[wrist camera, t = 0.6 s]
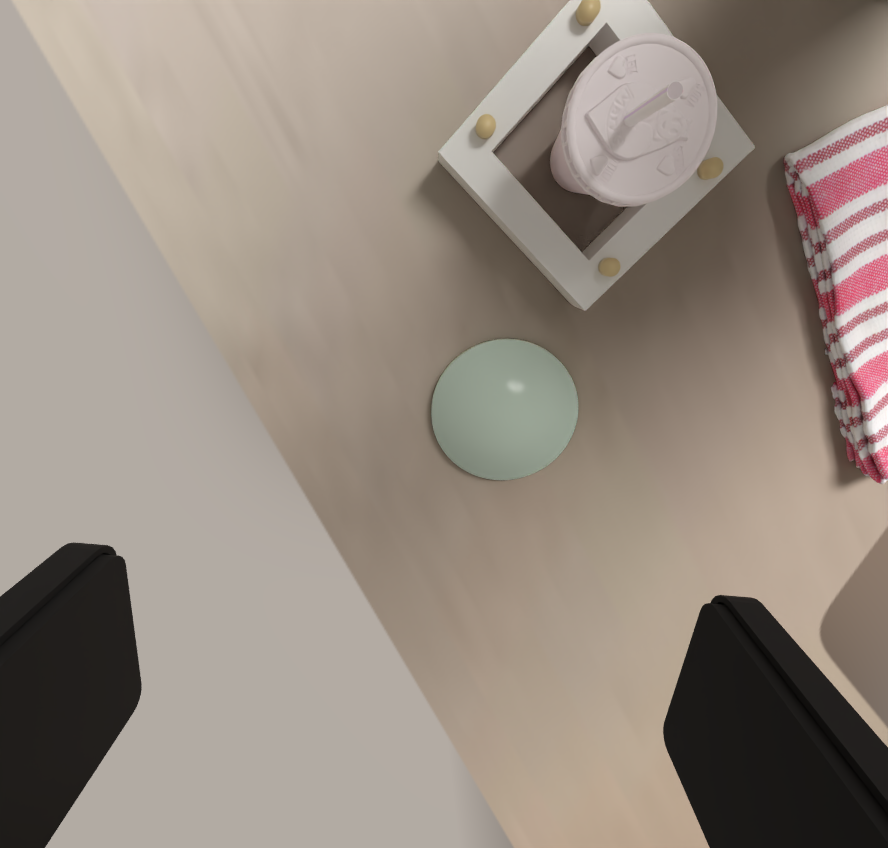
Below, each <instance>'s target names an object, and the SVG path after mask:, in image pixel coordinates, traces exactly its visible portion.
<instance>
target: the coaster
mask: <svg viewBox="0 0 888 848" xmlns="http://www.w3.org/2000/svg"><path fill="white" fill-rule="evenodd" d="M431 418H432V426H433V430H434V433H435V436H436V439H437V441H438V443H439V445H440V447H441V448H442V450H443V451H444V452H445V454H446V455H447V456H448V457H449V458H450V459H451V460H452V461H453V462H454V463H455V464H456V465H457V466H459V467H460V468H462V469H463V470H465V471H467V472H468V473H471V474H473V475H475V476H478V477H482V478H485V479H491V480H513V479H518V478H522V477H525V476H528V475H531V474H533V473H536V472H538V471H540V470H541V469H543V468H544V467H546V466H548V465H549V464H550V463H551V462H553V461H554V460H555V459H556V458H557V457H558V456H559V455H560V454H561V453H562V451H563V450H564V449H565V447H566V446H567V444H568V443H569V441H570V439H571V437H572V435H573V432H574V430H575V427H576V423H577V418H578V397H577V392H576V388H575V385H574V382H573V380H572V378H571V376H570V374H569V373H568V371H567V369H566V368H565V367H564V366H563V364H562V363H561V362H560V361H559V360H558V359H557V358H556V357H555V356H554V355H552V354H551V353H550V352H548V351H547V350H545V349H544V348H542V347H540V346H538V345H536V344H534V343H531V342H528V341H525V340H519V339H509V338H503V339H494V340H489V341H485V342H482V343H479V344H477V345H475V346H473V347H471V348H469V349H467V350H465V351H464V352H463V353H461V354H460V355H458V356H457V357H456V358H455V359H454V360H453V361H452V362H451V363H450V364H449V365H448V366H447V368H446V369H445V370H444V372H443V373H442V375H441V376H440V378H439V380H438V383H437V385H436V387H435V391H434V394H433V399H432V408H431Z"/></svg>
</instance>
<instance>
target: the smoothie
mask: <svg viewBox="0 0 888 848" xmlns="http://www.w3.org/2000/svg"><path fill="white" fill-rule="evenodd" d="M716 121H717V95H716V89H715V85H714V81H713V79H712V76H711V73H710V71H709V69H708V67H707V66H706V64H705V62H704V61H703V59H702V58H701V57H700V55H699V54H698V53H697V52H696V51H695V50H694V49H693V48H691V47H690V46H689V45H688V44H686V43H685V42H683V41H681V40H679V39H677V38H675V37H672V36H669V35H665V34H659V33H643V34H637V35H633V36H630V37H627V38H624V39H622V40H620V41H618V42H616V43H614V44H613V45H611V46H609V47H608V48H607V49H605V50H604V51H603V52H602V53H601V54H599V55H598V56H597V57H595V58H594V59H593V60H592V62H591V63H590V64H589V65H588V66H587V67H586V68H585V69H584V70H583V71H582V72H581V74H580V75H579V77H578V78H577V80H576V82H575V84H574V86H573V87H572V89H571V91H570V93H569V95H568V98H567V101H566V105H565V108H564V112H563V115H562V127H561V130H560V132H559V134H558V136H557V139H556V141H555V143H554V145H553V148H552V151H551V156H550V167H551V171H552V174H553V177H554V179H555V180H556V182H557V183H558V184H559V185H560V186H561V187H562V188H564V189H565V190H567V191H570V192H574V193H580V194H587V195H591V196H593V197H594V198H596V199H597V200H599V201H600V202H604V203H607V204H611V205H614V206H618V207H624V206H639V205H643V204H646V203H650V202H653V201H656V200H657V199H660V198H662V197H664V196H666V195H668V194H670V193H671V192H673V191H674V190H676V189H677V188H679V187H680V186H681V185H682V184H684V183H685V182H686V181H687V180H688V179H689V178H690V177H691V176H692V174H693V173H694V172H695V171H696V170H697V168H698V167H699V165H700V164H701V162H702V161H703V159H704V157H705V156H706V153H707V151H708V149H709V147H710V144H711V142H712V139H713V136H714V132H715V127H716Z"/></svg>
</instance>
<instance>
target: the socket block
mask: <svg viewBox="0 0 888 848" xmlns="http://www.w3.org/2000/svg"><path fill="white" fill-rule="evenodd" d="M643 33H659V34H665V35H669V36H672V37H674V36H673V34H672V33H671V32H670V30H669V29H668V27H667V26H666V25H665V23H664V22H663V21H662V19H661V18H660V17H659V15H658V14H657V13H656V11H655V10H654V8H653V7H652V6H651V4H650V3H649V2H648V0H569V1H568V3H567V4H566V5H565V6H564V7H563V8H562V10H561V11H560V12H559V13H558V14H557V15H556V16H555V18H554V19H553V20H552V21H551V22H550V23H549V25H548V26H547V27H546V28H545V29H544V30H543V31H542V33H541V34H540V35H539V36H538V37H537V38H536V40H535V41H534V42H533V43H532V44H531V45H530V46H529V48H528V49H527V50H526V51H525V52H524V53H523V55H522V56H521V57H520V58H519V59H518V60H517V61H516V63H515V64H514V65H513V66H512V67H511V68H510V70H509V71H508V72H507V73H506V74H505V75H504V76H503V78H502V79H501V80H500V81H499V82H498V83H497V85H496V86H495V87H494V88H493V89H492V90H491V91H490V93H489V94H488V95H487V96H486V97H485V98H484V100H483V101H482V102H481V103H480V104H479V105H478V106H477V108H476V109H475V110H474V111H473V112H472V113H471V115H470V116H469V117H468V118H467V119H466V120H465V121H464V123H463V124H462V125H461V126H460V127H459V128H458V130H457V131H456V132H455V133H454V134H453V135H452V136H451V138H450V139H449V140H448V141H447V142H446V143H445V145H444V146H443V147H442V148H441V149H440V150H439V151H438V162H439V163H440V164H441V165H442V166H443V167H444V168H445V169H446V170H447V171H448V172H449V173H450V174H451V176H452V177H453V178H454V179H455V180H456V181H457V182H458V183H459V184H460V185H461V186H462V187H463V188H464V190H465V191H466V192H467V193H468V194H469V195H470V196H471V197H472V198H473V199H474V200H475V201H476V202H477V204H478V205H479V206H480V207H481V208H482V209H483V210H484V211H485V212H486V213H487V214H488V215H489V216H490V218H491V219H492V220H493V221H494V222H495V223H496V224H497V225H498V226H499V227H500V228H501V229H502V230H503V232H504V233H505V234H506V235H507V236H508V237H509V238H510V239H511V240H512V241H513V242H514V243H515V244H516V246H517V247H518V248H519V249H520V250H521V251H522V252H523V253H524V254H525V255H526V256H527V257H528V258H529V260H530V261H531V262H532V263H533V264H534V265H535V266H536V267H537V268H538V269H539V270H540V271H541V272H542V274H543V275H544V276H545V277H546V278H547V279H548V280H549V281H550V282H551V283H552V284H553V285H554V286H555V288H556V289H557V290H558V291H559V292H560V293H561V294H562V295H563V296H564V297H565V298H566V299H567V300H568V302H569V303H570V304H571V305H573V306H575V307H577V308H579V309H582V310H584V311H586V310H587V309H588V308H589V307H590V306H591V305H592V304H593V303H594V302H595V301H596V300H597V299H598V298H599V297H600V296H602V295H603V294H604V293H605V292H606V291H607V290H608V289H609V288H610V287H611V286H612V285H613V284H614V283H615V282H616V281H617V280H618V279H619V278H620V277H621V276H622V275H623V274H624V273H625V272H626V271H627V270H629V269H630V268H631V267H632V266H633V265H634V264H635V263H636V262H637V261H638V260H639V259H640V258H641V257H642V256H643V255H644V254H645V253H646V252H647V251H648V250H649V249H650V248H651V247H652V246H653V245H654V244H656V243H657V242H658V241H659V240H660V239H661V238H662V237H663V236H664V235H665V234H666V233H667V232H668V231H669V230H670V229H671V228H672V227H673V226H674V225H675V224H676V223H677V222H678V221H679V220H680V219H681V218H683V217H684V216H685V215H686V214H687V213H688V212H689V211H690V210H691V209H692V208H693V207H694V206H695V205H696V204H697V203H698V202H699V201H700V200H701V199H702V198H703V197H704V196H705V195H706V194H707V193H708V192H710V191H711V190H712V189H713V188H714V187H715V186H716V185H717V184H718V183H719V182H720V181H721V180H722V179H723V178H724V177H725V176H726V175H727V174H728V173H729V172H730V171H731V170H732V169H733V168H734V167H735V166H736V165H738V164H739V163H740V162H741V161H742V160H743V159H744V158H745V157H746V156H747V155H748V154H749V153H750V152H751V151H752V150H753V149H754V148H755V146H754V144H753V143H752V142H751V140H750V139H749V138H748V136H747V135H746V134H745V132H744V131H743V129H742V128H741V127H740V125H739V124H738V123H737V121H736V120H735V119H734V117H733V116H732V115H731V113H730V112H729V110H728V109H727V108H726V106H725V105H724V104H723V102H722V101H721V100H720V98H719V97H718V95H717V94H716V95H717V121H716V127H715V132H714V136H713V139H712V142H711V144H710V147H709V149H708V151H707V153H706V156H705V157H704V159H703V161H702V162H701V164H700V165H699V167H698V168H697V170H696V171H695V172H694V173H693V174H692V176H691V177H690V178H689V179H688V180H687V181H686V182H685V183H684V184H682V185H681V186H680V187H679V188H677V189H676V190H674V191H673V192H671V193H670V194H668V195H666V196H664V197H662V198H660V199H657V200H656V201H653V202H650V203H646V204H643V205H639V206H628V207H627V208H626V209H625V210H624V211H623V212H622V213H621V214H620V215H619V216H618V217H617V218H616V219H615V220H614V221H613V222H612V223H611V224H610V225H609V226H608V227H607V228H606V229H605V230H604V231H603V232H602V233H601V234H600V235H599V236H598V237H597V238H596V239H595V240H594V241H593V242H592V243H591V244H590V245H589V246H588V247H587V248H586V249H585V250H584V251H583V252H581V251H580V250H579V249H578V248H577V247H576V245H575V244H574V243H573V242H572V241H571V240H570V239H569V238H568V236H567V235H566V234H565V233H564V232H563V231H562V230H561V229H560V227H559V226H558V225H557V224H556V223H555V222H554V221H553V220H552V219H551V217H550V216H549V215H548V214H547V213H546V212H545V211H544V210H543V208H542V207H541V206H540V205H539V204H538V203H537V202H536V201H535V199H534V198H533V197H532V196H531V195H530V194H529V193H528V192H527V190H526V189H525V188H524V187H523V186H522V185H521V184H520V183H519V182H518V180H517V179H516V178H515V177H514V176H513V175H512V174H511V173H510V171H509V170H508V169H507V168H506V167H505V166H504V165H503V164H502V162H501V161H500V160H499V159H498V158H497V157H496V156H495V155H494V153H493V152H494V151H495V150H496V149H497V148H498V146H499V145H500V144H501V143H502V142H503V141H504V140H505V139H506V137H507V136H508V135H509V134H510V133H511V132H512V131H513V130H514V129H515V127H516V126H517V125H518V124H519V123H520V122H521V121H522V120H523V119H524V117H525V116H526V115H527V114H528V113H529V112H530V111H531V110H532V109H533V107H534V106H535V105H536V104H537V103H538V102H539V101H540V100H541V98H542V97H543V96H544V95H545V94H546V93H547V92H548V91H549V90H550V88H551V87H552V86H553V85H554V84H555V83H556V82H557V81H558V80H559V78H560V77H561V76H562V75H563V74H564V73H565V72H566V71H567V70H568V68H569V67H570V66H571V65H572V64H573V63H574V62H575V61H576V59H577V58H578V57H579V56H580V55H581V54H582V53H583V52H584V51H585V49H586V48H587V47H588V46H589V47H590V48H591V49H592V51H593V52H594V53H595V55H596V56H598V55H599V54H601V53H602V52H603V51H604V50H605V49H607V48H608V47H609V46H611V45H613V44H614V43H616V42H618V41H620V40H622V39H624V38H627V37H630V36H633V35H637V34H643Z"/></svg>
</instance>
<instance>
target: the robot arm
mask: <svg viewBox="0 0 888 848" xmlns="http://www.w3.org/2000/svg"><path fill="white" fill-rule="evenodd" d="M126 571H127V570H126V564H125V560H124V559H123V557H121V556H117V555H116V552H115V550H114V549H113V548H112V547H110V546H108V545H97V544H84V543H69V544H66V545H64V546H63V547H61V548H60V549H59V550H58V551H56V552H55V553H54V554H53V555H51V556H50V557H49V558H48V559H46V560H45V561H44V562H43V563H41V564H40V565H39V566H38V567H36V568H35V569H34V570H33V571H32V572H30V573H29V574H28V575H27V576H25V577H24V578H23V579H22V580H21V581H19V582H18V583H17V584H15V585H14V586H13V587H12V588H10V589H9V590H8V591H7V592H5V593H4V594H3V595H2V596H1V597H0V848H45V847H46V845H47V844H48V842H49V840H50V839H51V837H52V836H53V834H54V833H55V831H56V830H57V828H58V827H59V825H60V824H61V822H62V821H63V819H64V818H65V816H66V814H67V813H68V811H69V810H70V808H71V807H72V805H73V804H74V802H75V801H76V799H77V798H78V796H79V795H80V793H81V792H82V790H83V789H84V787H85V786H86V784H87V782H88V781H89V779H90V778H91V776H92V775H93V773H94V772H95V770H96V769H97V767H98V766H99V764H100V763H101V761H102V760H103V758H104V756H105V755H106V753H107V752H108V750H109V749H110V747H111V746H112V744H113V743H114V741H115V740H116V738H117V737H118V735H119V734H120V732H121V731H122V729H123V728H124V726H125V725H126V723H127V721H128V720H129V718H130V717H131V715H132V714H133V712H134V710H135V708H136V707H137V704H138V701H139V699H140V695H141V677H140V670H139V662H138V654H137V647H136V639H135V631H134V624H133V616H132V608H131V601H130V594H129V586H128V579H127V572H126ZM663 734H664V741H665V745H666V748H667V751H668V753H669V756H670V758H671V760H672V762H673V765H674V767H675V769H676V772H677V774H678V776H679V778H680V781H681V783H682V785H683V788H684V790H685V792H686V794H687V797H688V799H689V801H690V804H691V806H692V808H693V810H694V813H695V815H696V817H697V820H698V822H699V824H700V826H701V829H702V831H703V833H704V836H705V838H706V840H707V842H708V845H709V847H710V848H888V747H887V746H886V745H885V744H884V743H883V742H882V740H881V739H880V738H879V737H878V736H877V735H876V734H875V732H874V731H873V730H872V729H871V728H870V727H869V726H868V724H867V723H866V722H865V721H864V720H863V719H862V718H861V716H860V715H859V714H858V713H857V712H856V711H855V710H854V708H853V707H852V706H851V705H850V704H849V703H848V702H847V700H846V699H845V698H844V697H843V696H842V695H841V694H840V692H839V691H838V690H837V689H836V688H835V687H834V686H833V684H832V683H831V682H830V681H829V680H828V679H827V678H826V676H825V675H824V674H823V673H822V672H821V671H820V670H819V668H818V667H817V666H816V665H815V664H814V663H813V661H812V660H811V659H810V658H809V657H808V656H807V655H806V653H805V652H804V651H803V650H802V649H801V648H800V647H799V645H798V644H797V643H796V642H795V641H794V640H793V639H792V637H791V636H790V635H789V634H788V633H787V632H786V631H785V629H784V628H783V627H782V626H781V625H780V624H779V623H778V621H777V620H776V619H775V618H774V617H773V616H772V615H771V613H770V612H769V611H768V610H767V609H766V608H765V607H764V605H763V604H762V603H761V602H759V601H758V600H757V599H754V598H749V597H737V596H724V595H719V596H715V597H714V598H713V599H712V601H711V603H708V604H705V605H703V606H702V608H701V610H700V613H699V616H698V619H697V623H696V626H695V629H694V632H693V635H692V638H691V641H690V644H689V647H688V650H687V654H686V657H685V660H684V663H683V666H682V669H681V672H680V675H679V678H678V681H677V685H676V688H675V691H674V694H673V697H672V700H671V703H670V706H669V709H668V712H667V716H666V719H665V722H664V727H663Z"/></svg>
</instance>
